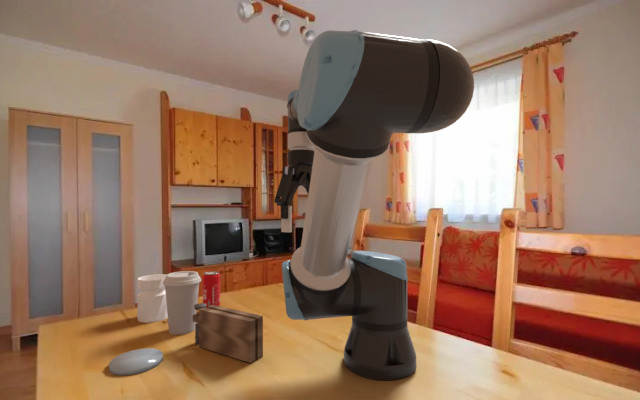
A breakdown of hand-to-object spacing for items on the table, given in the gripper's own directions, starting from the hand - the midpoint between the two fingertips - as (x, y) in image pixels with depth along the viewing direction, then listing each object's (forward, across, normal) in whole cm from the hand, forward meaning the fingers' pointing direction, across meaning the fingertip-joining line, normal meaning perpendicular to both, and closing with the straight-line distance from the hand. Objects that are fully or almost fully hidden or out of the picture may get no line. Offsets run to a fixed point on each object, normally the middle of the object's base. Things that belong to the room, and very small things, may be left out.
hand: (301, 230), depth 89 cm
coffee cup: (+27, +16, -28) cm, 42 cm away
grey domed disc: (+27, +33, -20) cm, 47 cm away
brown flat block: (+27, +19, -9) cm, 34 cm away
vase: (+27, +14, -44) cm, 53 cm away
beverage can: (+27, +1, -34) cm, 43 cm away
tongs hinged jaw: (+26, +20, -8) cm, 34 cm away
